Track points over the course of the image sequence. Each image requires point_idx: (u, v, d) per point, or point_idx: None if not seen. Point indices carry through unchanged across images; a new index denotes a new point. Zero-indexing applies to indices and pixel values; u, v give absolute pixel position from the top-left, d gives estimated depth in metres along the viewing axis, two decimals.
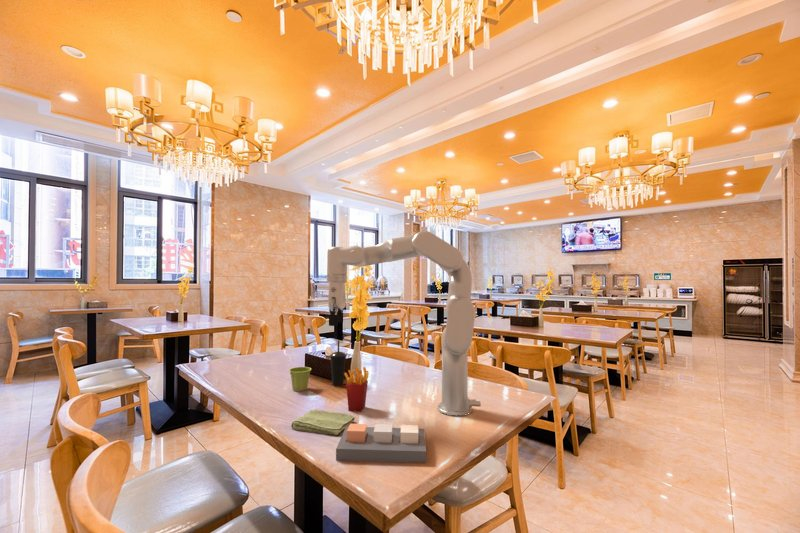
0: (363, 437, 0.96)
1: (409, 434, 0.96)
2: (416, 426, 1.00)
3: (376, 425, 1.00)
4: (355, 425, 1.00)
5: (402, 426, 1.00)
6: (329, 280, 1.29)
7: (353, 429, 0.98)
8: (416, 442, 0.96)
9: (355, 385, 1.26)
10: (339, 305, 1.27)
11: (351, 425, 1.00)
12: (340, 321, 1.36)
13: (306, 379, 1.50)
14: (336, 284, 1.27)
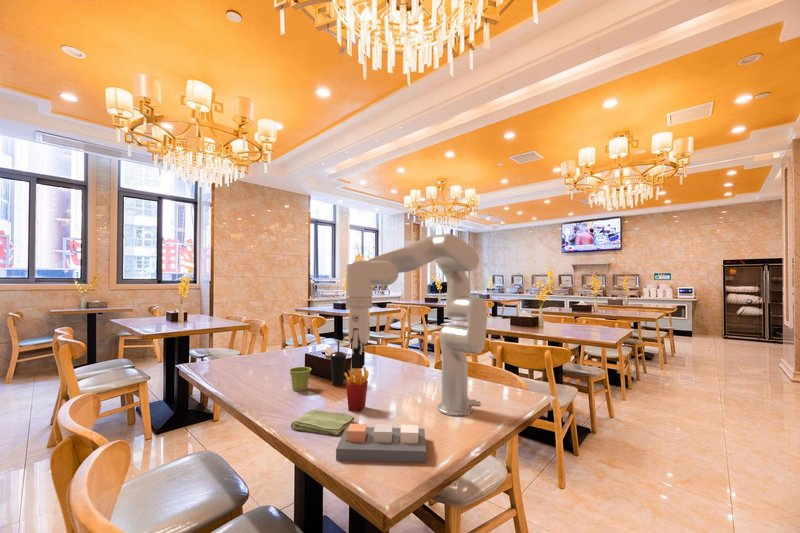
0: (363, 437, 0.96)
1: (409, 434, 0.96)
2: (416, 426, 1.00)
3: (376, 425, 1.00)
4: (355, 425, 1.00)
5: (402, 426, 1.00)
6: (349, 305, 0.97)
7: (353, 429, 0.98)
8: (416, 442, 0.96)
9: (355, 385, 1.26)
10: (363, 339, 0.95)
11: (351, 425, 1.00)
12: None
13: (306, 379, 1.50)
14: (359, 311, 0.96)
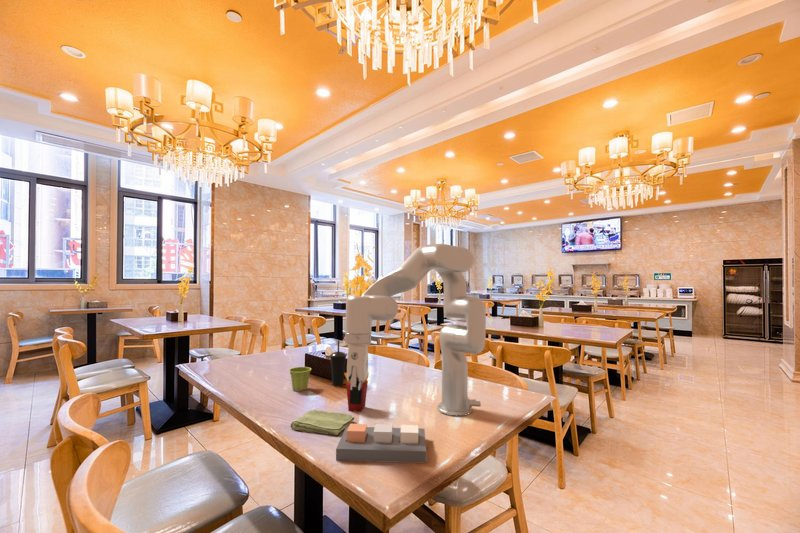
0: (363, 437, 0.96)
1: (409, 434, 0.96)
2: (416, 426, 1.00)
3: (376, 425, 1.00)
4: (355, 425, 1.00)
5: (402, 426, 1.00)
6: (348, 342, 0.97)
7: (353, 429, 0.98)
8: (416, 442, 0.96)
9: None
10: (361, 377, 0.94)
11: (351, 425, 1.00)
12: None
13: (306, 379, 1.50)
14: (358, 348, 0.95)
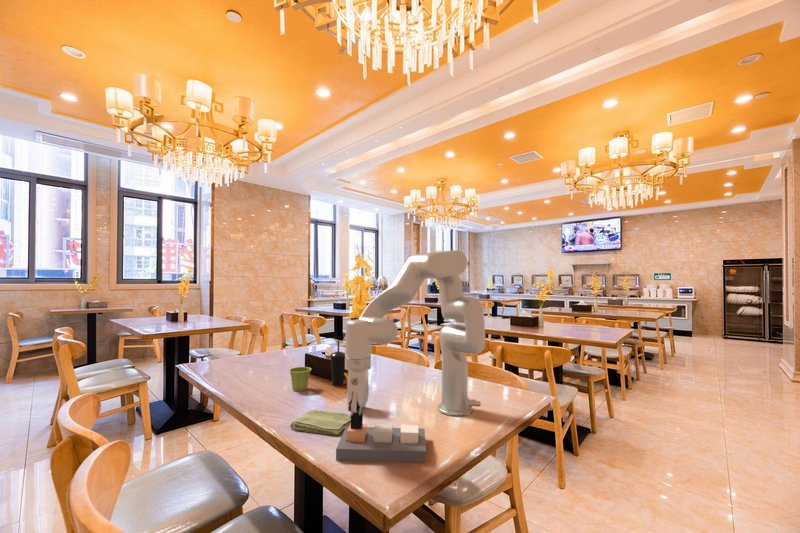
0: (363, 437, 0.96)
1: (409, 434, 0.96)
2: (416, 426, 1.00)
3: (376, 425, 1.00)
4: None
5: (402, 426, 1.00)
6: (348, 367, 0.97)
7: (353, 429, 0.98)
8: (416, 442, 0.96)
9: None
10: (362, 403, 0.94)
11: None
12: None
13: (306, 379, 1.50)
14: (358, 374, 0.95)
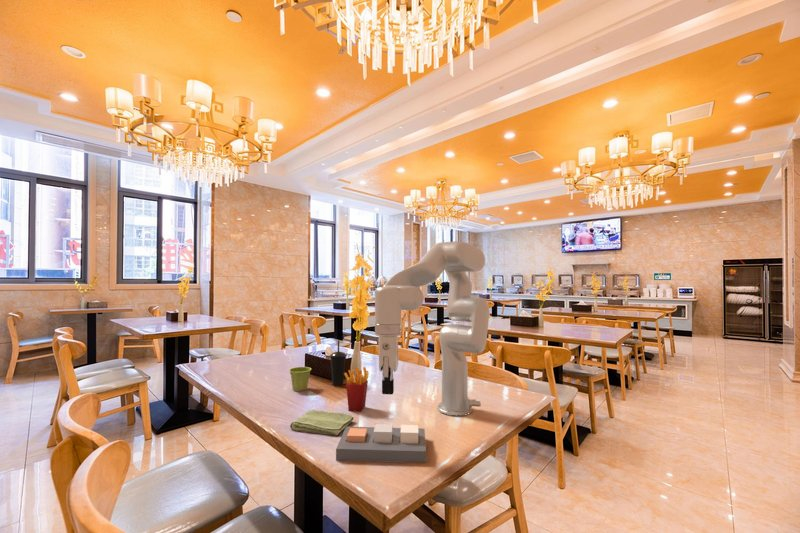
0: None
1: (409, 434, 0.96)
2: (416, 426, 1.00)
3: (376, 425, 1.00)
4: (355, 430, 1.00)
5: (402, 426, 1.00)
6: (379, 332, 0.97)
7: (353, 433, 0.98)
8: (416, 442, 0.96)
9: (355, 385, 1.26)
10: (394, 367, 0.94)
11: (351, 430, 1.00)
12: None
13: (306, 379, 1.50)
14: (389, 339, 0.95)
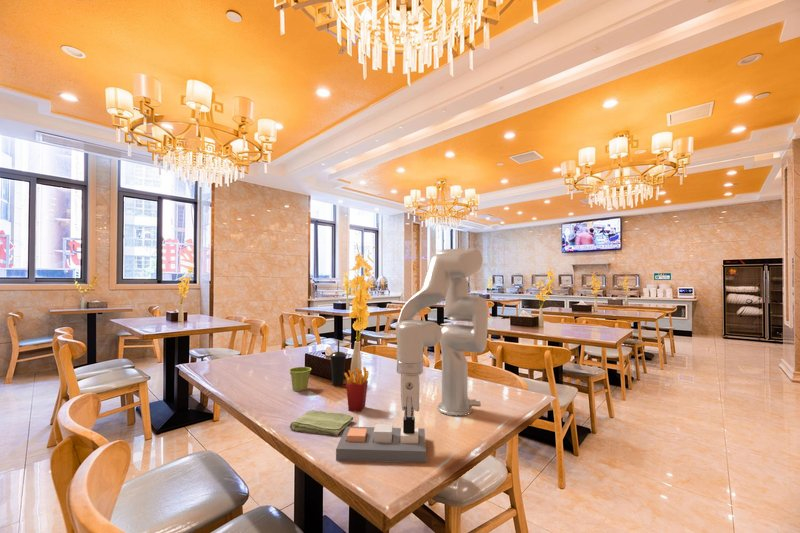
0: None
1: (409, 437, 0.96)
2: (416, 429, 1.00)
3: (376, 425, 1.00)
4: (355, 430, 1.00)
5: (402, 429, 1.00)
6: (402, 371, 0.96)
7: (353, 433, 0.98)
8: None
9: (355, 385, 1.26)
10: (417, 407, 0.94)
11: (351, 430, 1.00)
12: None
13: (306, 379, 1.50)
14: (412, 378, 0.94)
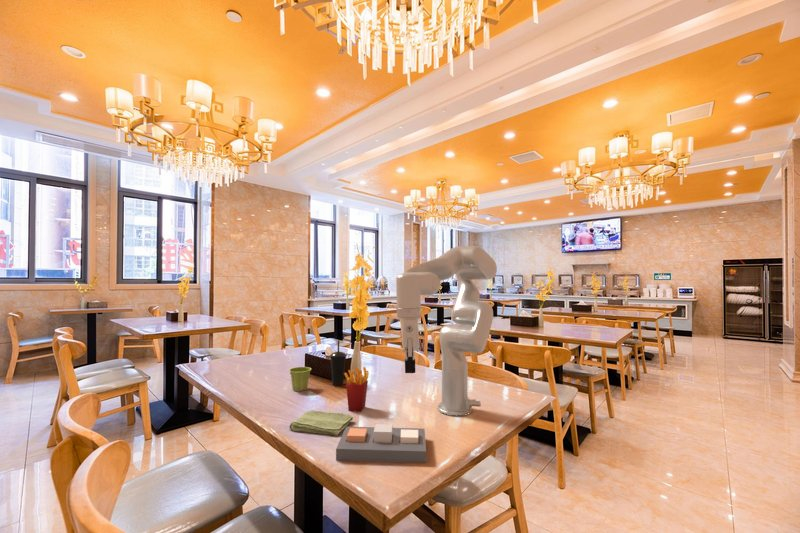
0: None
1: (409, 439, 0.96)
2: (416, 431, 1.00)
3: (376, 425, 1.00)
4: (355, 430, 1.00)
5: (402, 431, 1.00)
6: (402, 316, 1.04)
7: (353, 433, 0.98)
8: None
9: (355, 385, 1.26)
10: (417, 348, 1.02)
11: (351, 430, 1.00)
12: None
13: (306, 379, 1.50)
14: (412, 321, 1.02)
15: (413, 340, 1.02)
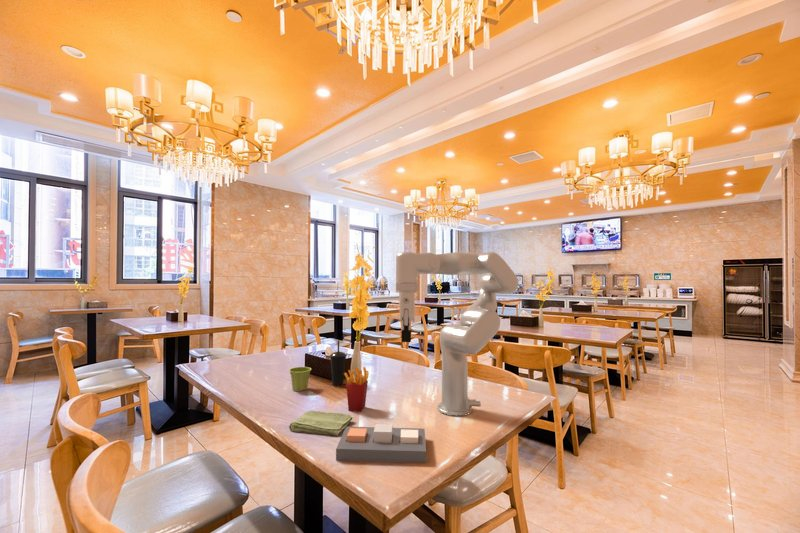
0: None
1: (409, 439, 0.96)
2: (416, 431, 1.00)
3: (376, 425, 1.00)
4: (355, 430, 1.00)
5: (402, 431, 1.00)
6: (400, 289, 1.16)
7: (353, 433, 0.98)
8: None
9: (355, 385, 1.26)
10: (412, 318, 1.14)
11: (351, 430, 1.00)
12: None
13: (306, 379, 1.50)
14: (409, 294, 1.14)
15: (409, 311, 1.14)
